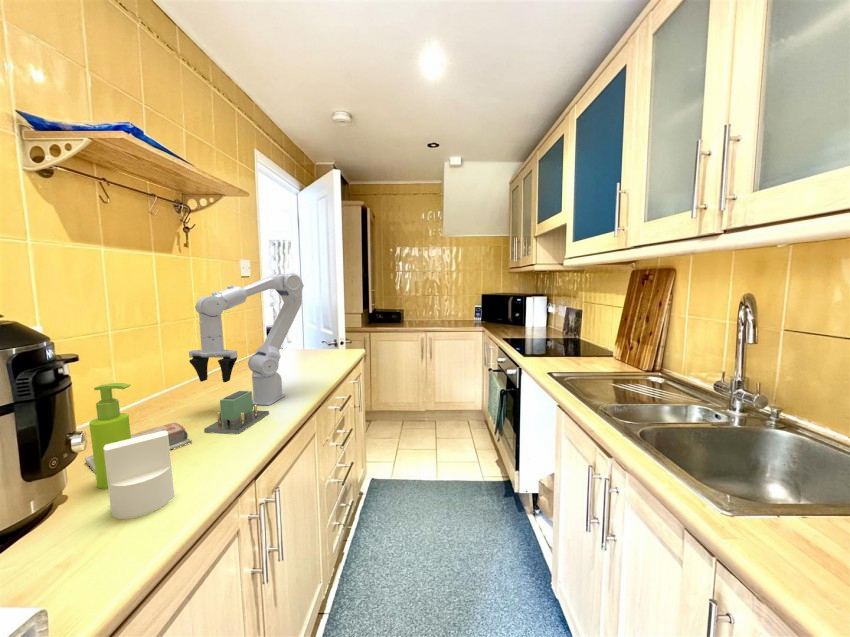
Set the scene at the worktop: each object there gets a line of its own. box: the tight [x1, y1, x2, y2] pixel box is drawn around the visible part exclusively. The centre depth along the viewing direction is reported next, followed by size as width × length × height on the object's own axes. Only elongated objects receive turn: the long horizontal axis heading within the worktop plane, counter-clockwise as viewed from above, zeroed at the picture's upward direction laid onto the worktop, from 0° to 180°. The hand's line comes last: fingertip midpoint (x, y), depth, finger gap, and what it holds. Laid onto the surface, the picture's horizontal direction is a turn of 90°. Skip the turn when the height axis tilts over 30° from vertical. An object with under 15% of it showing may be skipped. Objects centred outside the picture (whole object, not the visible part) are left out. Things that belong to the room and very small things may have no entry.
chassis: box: [203, 404, 270, 435], centre depth 101 cm, size 14×10×4 cm
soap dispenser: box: [88, 382, 132, 490], centre depth 72 cm, size 6×7×20 cm
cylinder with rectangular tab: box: [104, 430, 175, 520], centre depth 65 cm, size 9×9×12 cm
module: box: [219, 390, 254, 420], centre depth 101 cm, size 8×4×6 cm, turn 172°
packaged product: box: [84, 422, 193, 474], centre depth 85 cm, size 18×5×10 cm
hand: (215, 381), depth 108 cm, fingers open, 7 cm apart
